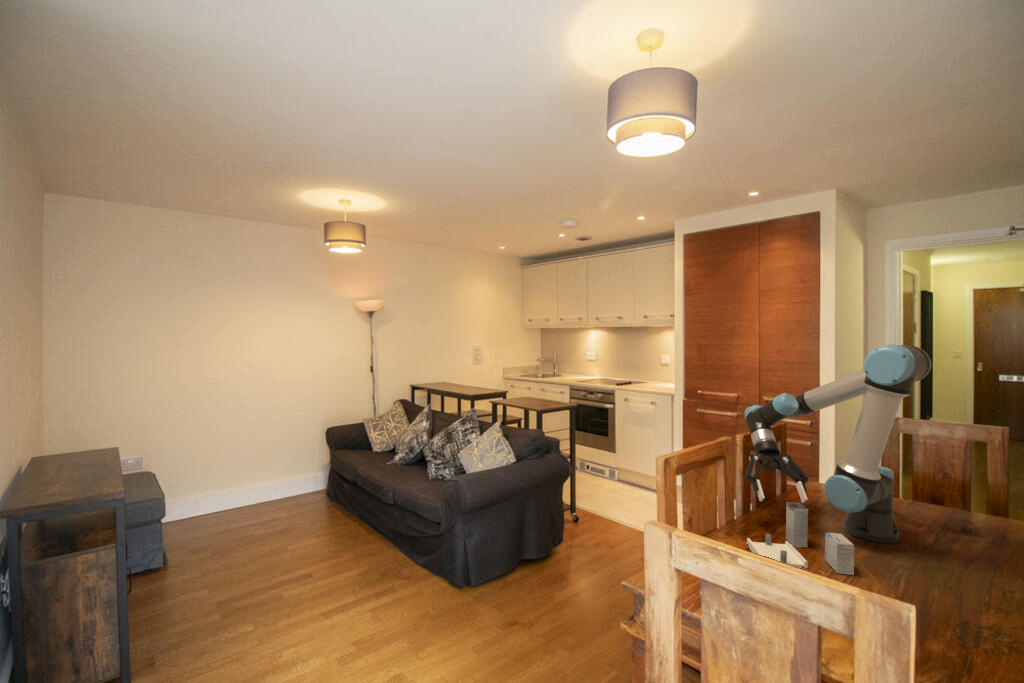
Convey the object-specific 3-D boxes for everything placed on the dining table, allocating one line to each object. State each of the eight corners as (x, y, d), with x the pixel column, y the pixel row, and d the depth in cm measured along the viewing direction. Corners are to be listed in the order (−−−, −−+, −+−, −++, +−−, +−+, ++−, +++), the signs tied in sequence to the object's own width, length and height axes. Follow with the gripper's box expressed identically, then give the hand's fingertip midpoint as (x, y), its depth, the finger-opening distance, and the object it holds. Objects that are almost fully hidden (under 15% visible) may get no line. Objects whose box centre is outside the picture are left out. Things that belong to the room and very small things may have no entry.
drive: (799, 540, 158) (800, 502, 158) (807, 547, 152) (808, 509, 152) (785, 539, 159) (786, 501, 159) (793, 546, 153) (793, 508, 153)
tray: (787, 547, 152) (788, 534, 152) (807, 568, 139) (807, 554, 139) (746, 544, 154) (746, 531, 154) (762, 565, 140) (762, 551, 140)
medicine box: (854, 576, 135) (855, 544, 135) (836, 574, 136) (836, 543, 136) (841, 563, 143) (841, 533, 142) (824, 561, 143) (824, 531, 143)
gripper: (797, 451, 179) (818, 507, 164) (726, 449, 181) (741, 503, 166) (805, 440, 173) (827, 496, 159) (732, 437, 175) (747, 493, 161)
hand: (783, 500), depth 162 cm, fingers open, 13 cm apart
